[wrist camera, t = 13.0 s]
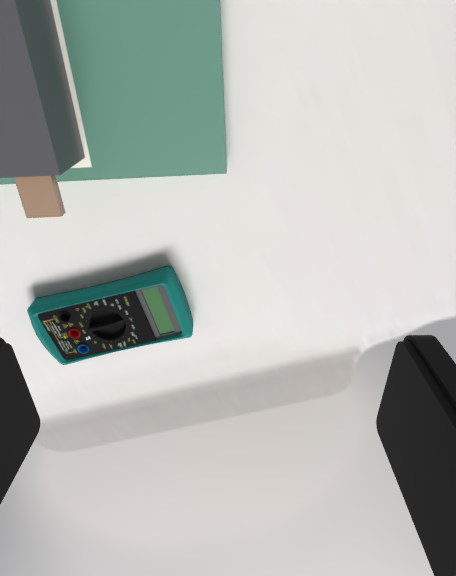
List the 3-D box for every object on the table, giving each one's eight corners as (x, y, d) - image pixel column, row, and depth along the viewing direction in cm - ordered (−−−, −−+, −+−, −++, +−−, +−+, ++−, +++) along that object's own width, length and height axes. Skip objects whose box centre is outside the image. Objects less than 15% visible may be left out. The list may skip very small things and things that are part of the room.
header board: (217, -55, 24) (218, -82, 20) (226, 169, 31) (228, 185, 27) (-131, -41, 24) (-207, -65, 20) (-43, 182, 31) (-84, 200, 27)
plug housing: (46, -20, 24) (3, -42, 19) (93, 196, 30) (71, 220, 26) (-26, -17, 23) (-86, -38, 19) (38, 199, 30) (6, 223, 26)
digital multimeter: (30, 296, 37) (16, 313, 35) (174, 261, 36) (171, 276, 33) (64, 352, 41) (54, 371, 38) (196, 322, 39) (195, 340, 37)
